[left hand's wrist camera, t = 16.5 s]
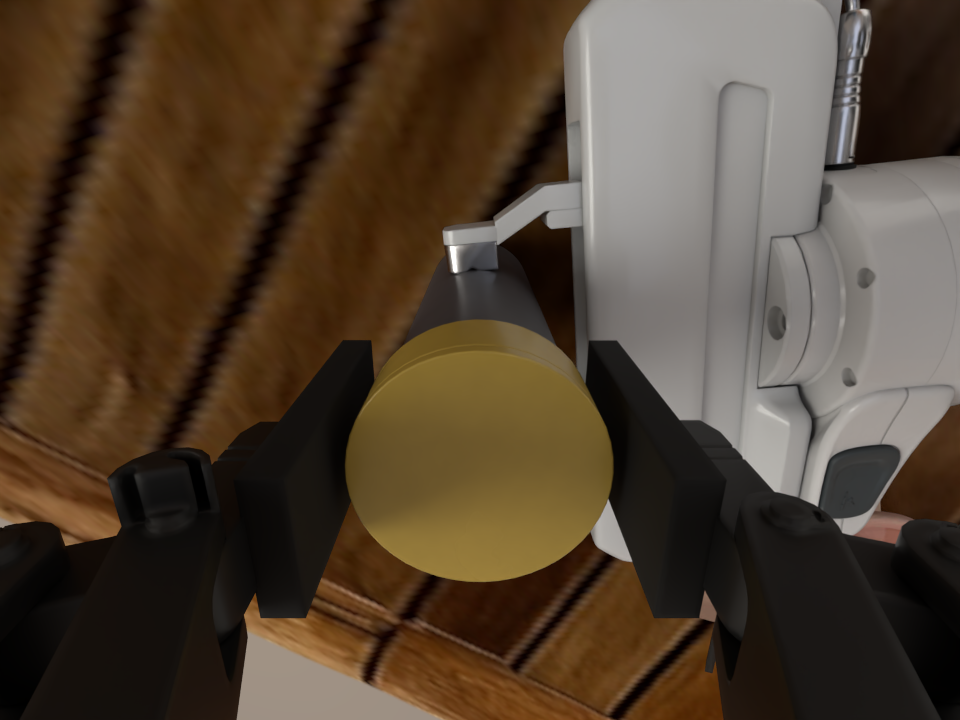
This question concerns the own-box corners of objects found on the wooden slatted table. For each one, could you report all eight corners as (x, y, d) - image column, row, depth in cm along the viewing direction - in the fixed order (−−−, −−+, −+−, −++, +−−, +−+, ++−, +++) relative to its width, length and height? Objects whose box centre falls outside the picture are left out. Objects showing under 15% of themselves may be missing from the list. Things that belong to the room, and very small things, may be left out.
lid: (351, 497, 13) (328, 558, 11) (386, 294, 11) (365, 322, 9) (556, 537, 13) (569, 601, 11) (623, 347, 11) (653, 385, 9)
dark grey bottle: (430, 241, 24) (355, 352, 10) (529, 241, 24) (602, 352, 10) (433, 335, 26) (373, 551, 11) (526, 335, 26) (585, 552, 11)
